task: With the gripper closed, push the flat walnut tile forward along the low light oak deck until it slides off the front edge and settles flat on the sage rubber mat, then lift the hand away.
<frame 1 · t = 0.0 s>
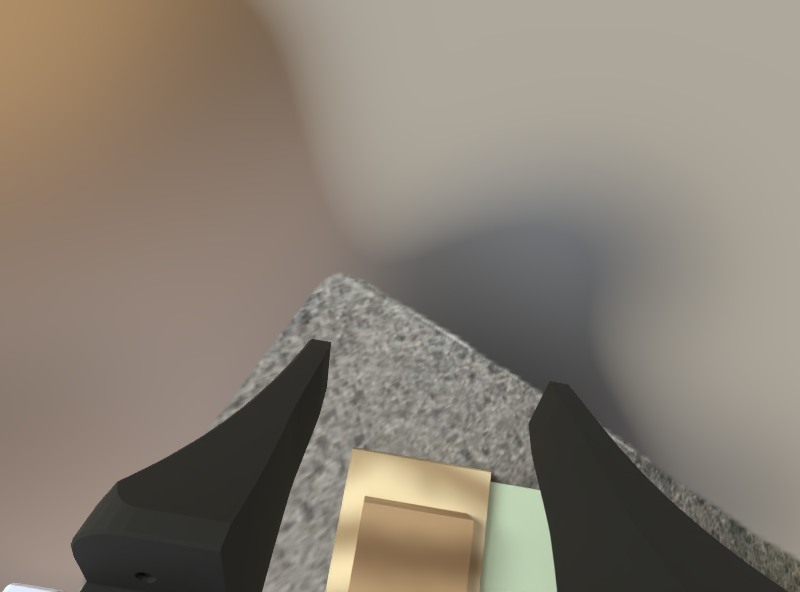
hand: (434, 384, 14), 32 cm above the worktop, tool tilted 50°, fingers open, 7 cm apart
walnut tile: (409, 550, 39), point 2 cm above the worktop, touching oak deck
sage mat: (546, 568, 41), on the worktop
oak deck: (407, 544, 41), on the worktop
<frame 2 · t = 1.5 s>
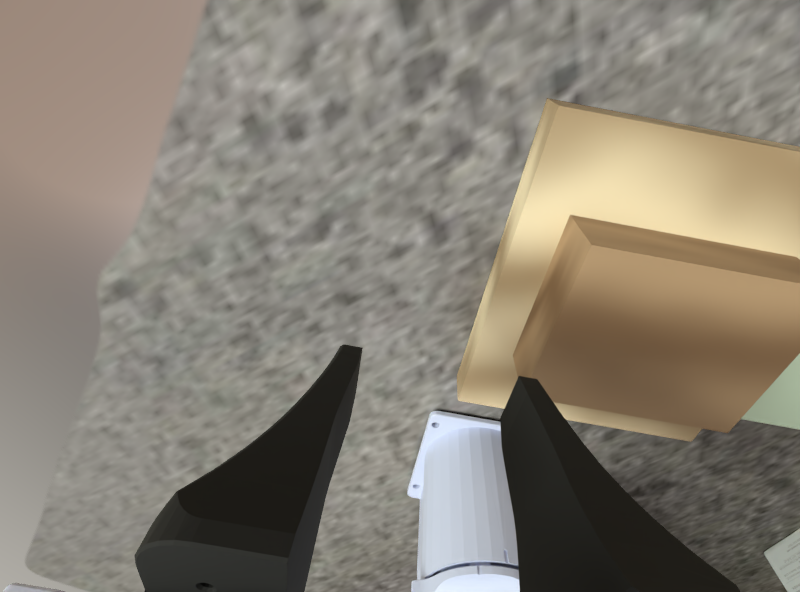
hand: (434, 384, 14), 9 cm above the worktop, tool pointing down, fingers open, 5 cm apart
walnut tile: (639, 310, 20), point 2 cm above the worktop, touching oak deck
oak deck: (624, 289, 22), on the worktop
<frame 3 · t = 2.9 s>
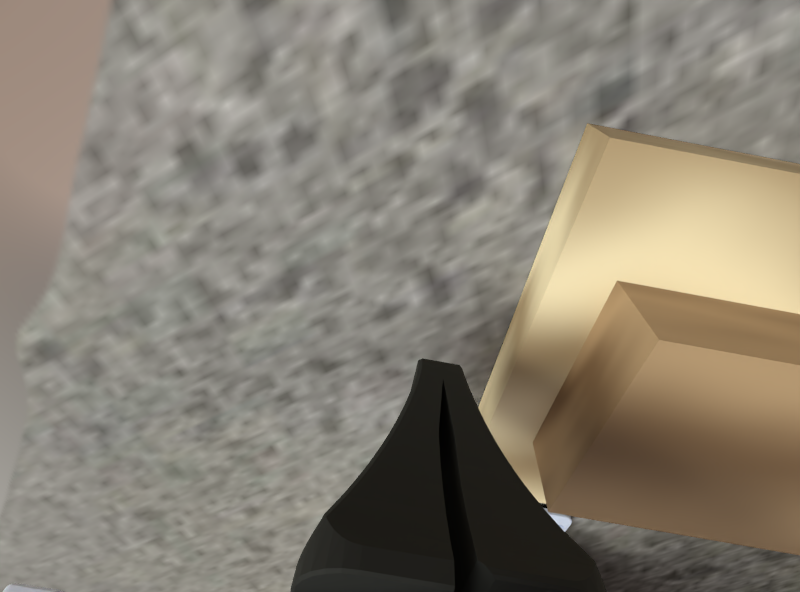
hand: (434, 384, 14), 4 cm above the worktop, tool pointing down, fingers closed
walnut tile: (701, 396, 15), point 2 cm above the worktop, touching oak deck
oak deck: (675, 360, 17), on the worktop
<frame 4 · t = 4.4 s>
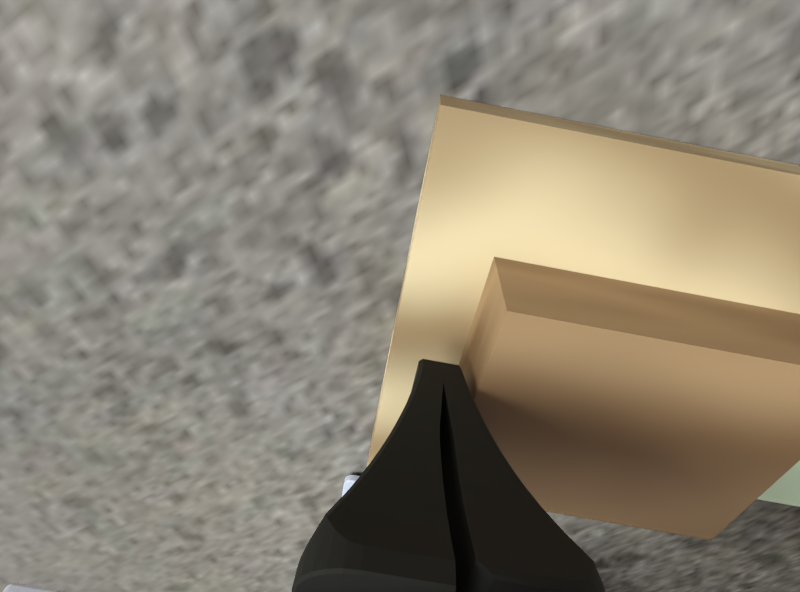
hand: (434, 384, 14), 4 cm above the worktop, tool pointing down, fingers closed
walnut tile: (596, 377, 15), point 2 cm above the worktop, touching gripper
oak deck: (566, 341, 17), on the worktop
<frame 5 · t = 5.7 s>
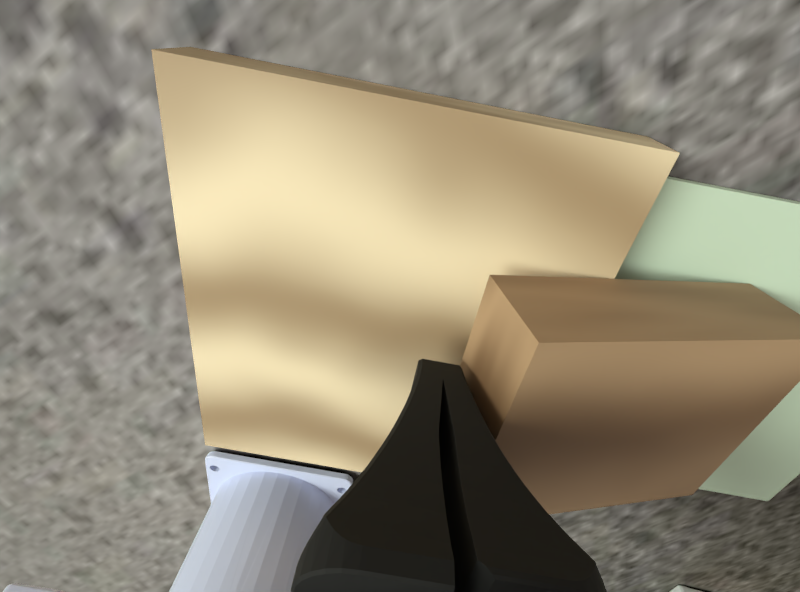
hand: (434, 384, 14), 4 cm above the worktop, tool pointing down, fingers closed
walnut tile: (582, 371, 15), point 2 cm above the worktop, tilted 17°, touching sage mat
sage mat: (718, 369, 17), on the worktop
oak deck: (383, 308, 17), on the worktop
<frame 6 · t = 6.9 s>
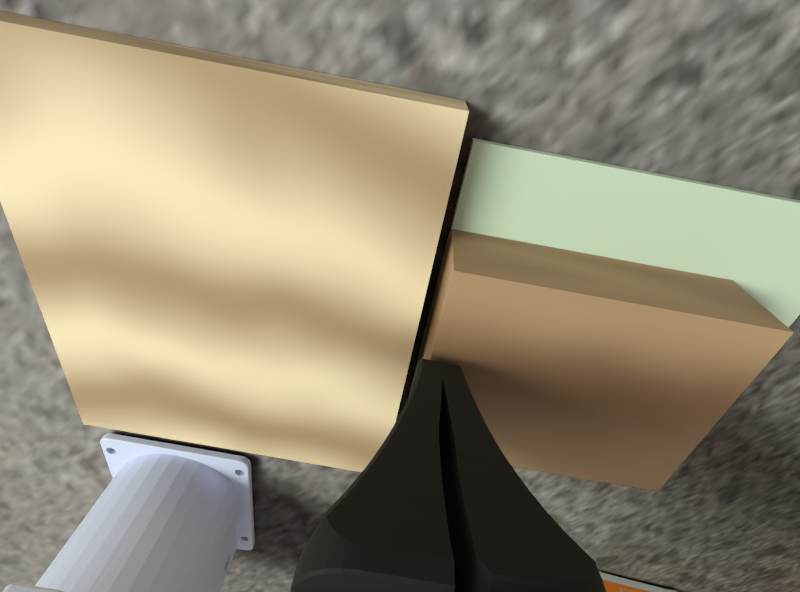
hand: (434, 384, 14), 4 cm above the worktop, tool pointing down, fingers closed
walnut tile: (551, 343, 17), resting on sage mat
skincare box: (615, 587, 28), on the worktop
sage mat: (584, 344, 17), on the worktop
oak deck: (244, 282, 17), on the worktop
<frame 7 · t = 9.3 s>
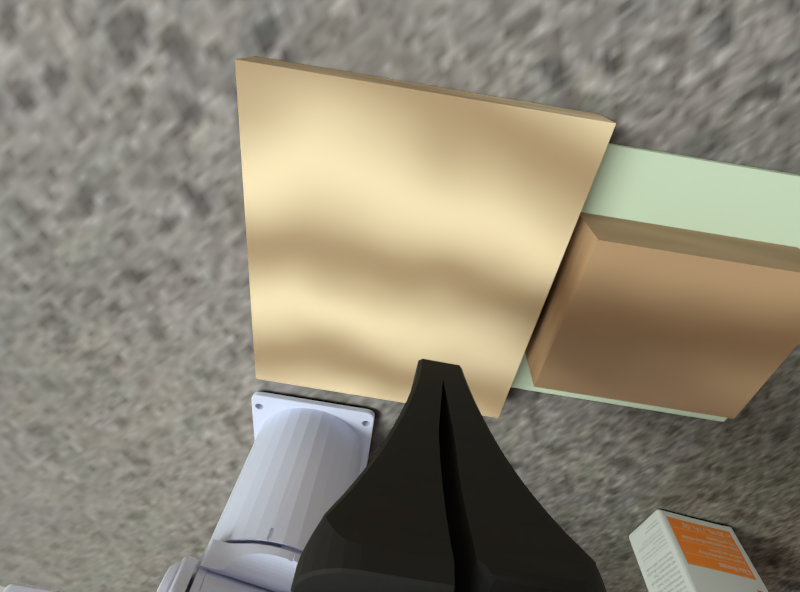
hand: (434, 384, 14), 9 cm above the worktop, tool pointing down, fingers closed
walnut tile: (646, 302, 21), resting on sage mat
skincare box: (675, 527, 32), on the worktop
sage mat: (671, 304, 21), on the worktop
oak deck: (399, 259, 21), on the worktop
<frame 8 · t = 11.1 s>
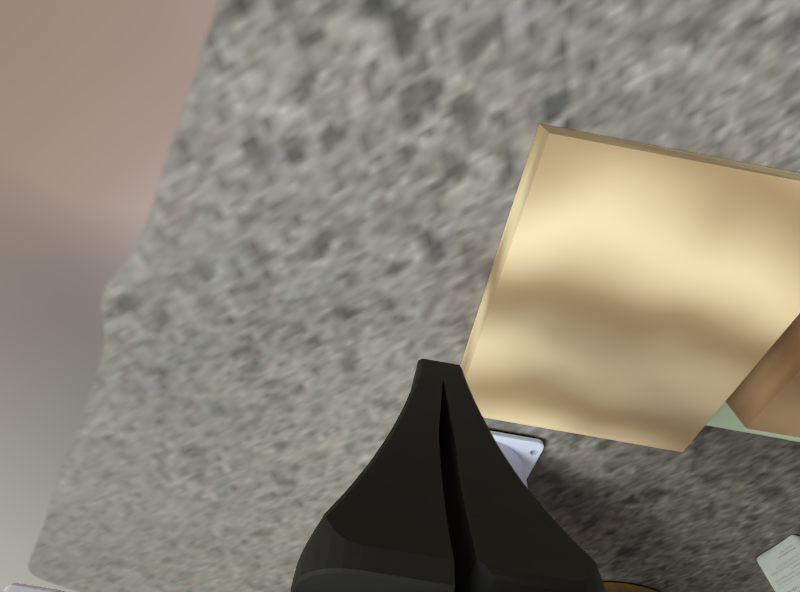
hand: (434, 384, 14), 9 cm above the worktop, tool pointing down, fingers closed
oak deck: (615, 304, 22), on the worktop
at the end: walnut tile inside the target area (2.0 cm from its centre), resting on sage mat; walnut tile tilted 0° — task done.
